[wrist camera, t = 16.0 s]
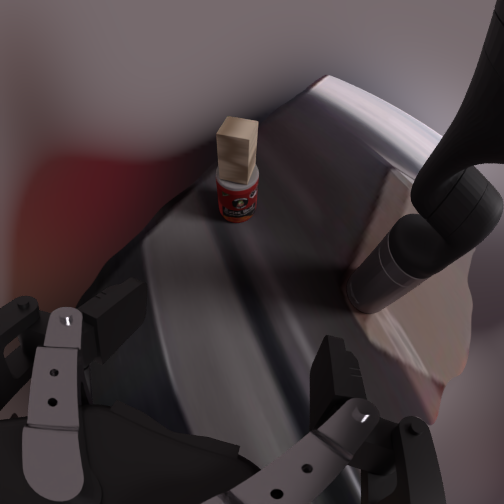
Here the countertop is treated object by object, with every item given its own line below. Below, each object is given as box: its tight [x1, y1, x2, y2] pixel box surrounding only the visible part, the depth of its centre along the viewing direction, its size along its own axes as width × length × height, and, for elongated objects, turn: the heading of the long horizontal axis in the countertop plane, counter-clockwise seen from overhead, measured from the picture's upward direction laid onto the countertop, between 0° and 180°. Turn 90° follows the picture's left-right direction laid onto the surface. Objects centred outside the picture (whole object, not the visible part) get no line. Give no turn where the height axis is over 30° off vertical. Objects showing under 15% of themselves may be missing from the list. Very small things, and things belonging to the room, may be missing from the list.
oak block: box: [216, 116, 258, 185], centre depth 42 cm, size 5×5×10 cm
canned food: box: [216, 165, 259, 223], centre depth 52 cm, size 8×8×11 cm
